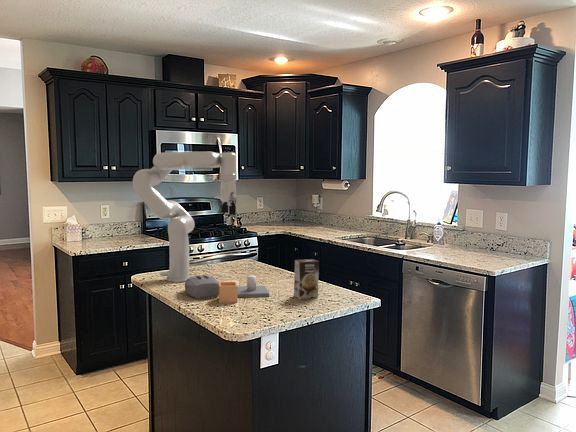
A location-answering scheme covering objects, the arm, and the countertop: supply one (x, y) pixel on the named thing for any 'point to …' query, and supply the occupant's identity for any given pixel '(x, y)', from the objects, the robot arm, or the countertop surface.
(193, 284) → the soft grey pack
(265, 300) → the countertop surface
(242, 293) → the gray plate with knob
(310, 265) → the coffee box
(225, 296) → the orange cube cubby
